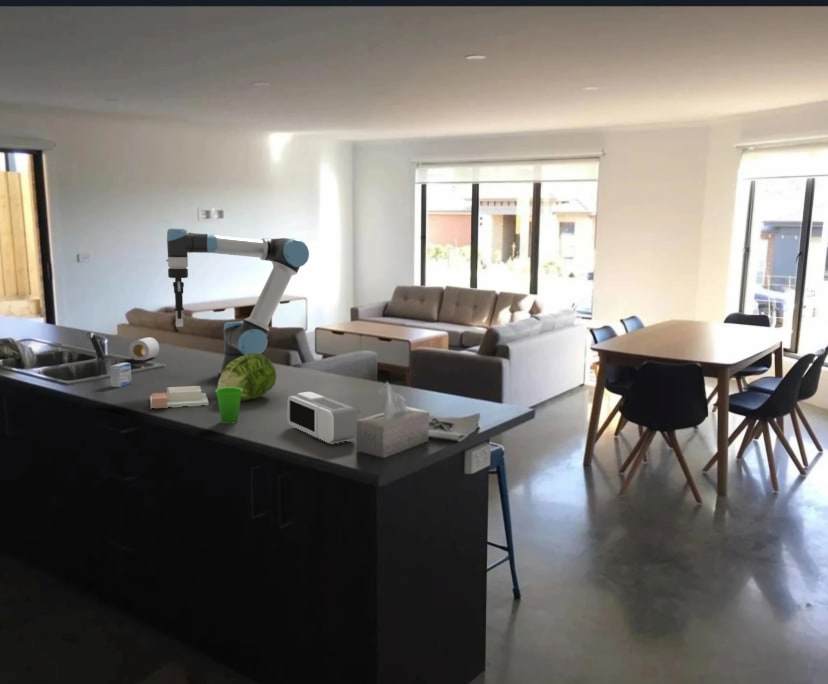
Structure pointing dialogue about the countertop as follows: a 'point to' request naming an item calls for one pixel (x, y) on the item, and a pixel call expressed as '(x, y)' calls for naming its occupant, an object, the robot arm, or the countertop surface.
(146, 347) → the toilet paper
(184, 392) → the cream flat block
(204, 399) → the board
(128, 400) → the countertop surface
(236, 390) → the cup
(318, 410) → the alarm clock
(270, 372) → the lettuce
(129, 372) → the medicine box
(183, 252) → the robot arm
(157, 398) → the pink rectangular block
